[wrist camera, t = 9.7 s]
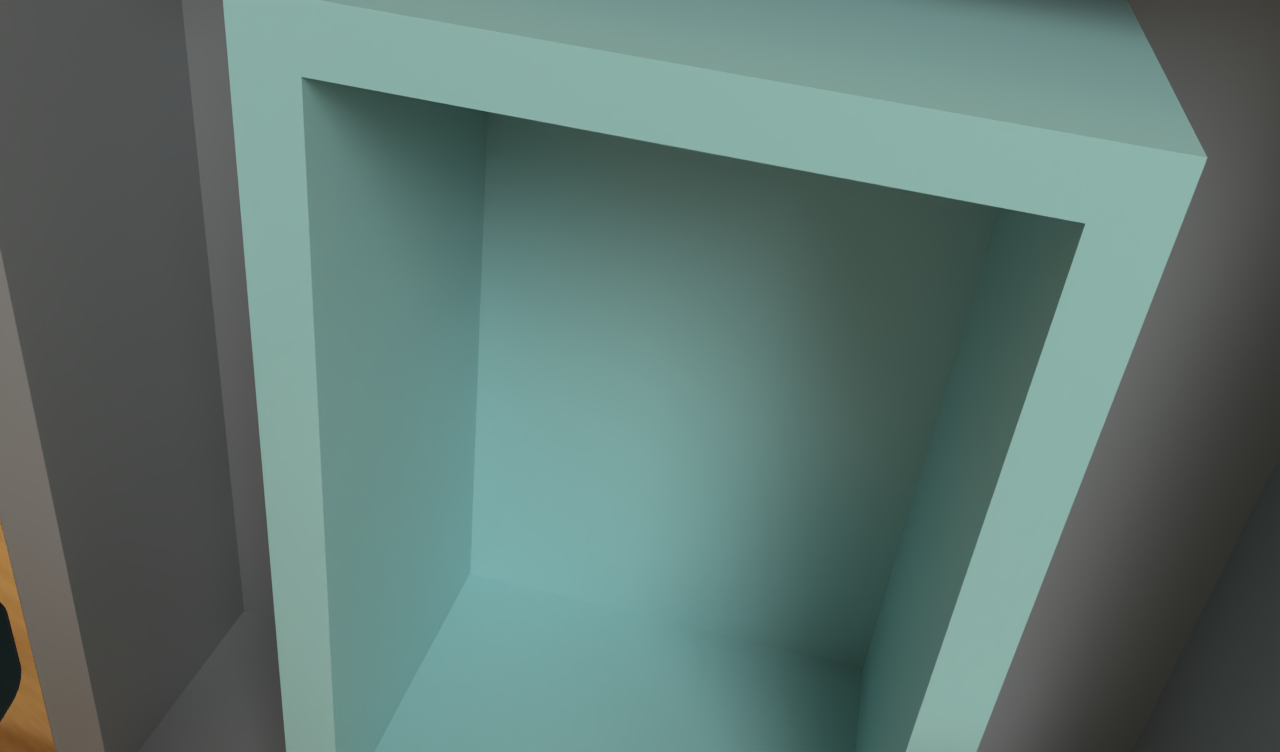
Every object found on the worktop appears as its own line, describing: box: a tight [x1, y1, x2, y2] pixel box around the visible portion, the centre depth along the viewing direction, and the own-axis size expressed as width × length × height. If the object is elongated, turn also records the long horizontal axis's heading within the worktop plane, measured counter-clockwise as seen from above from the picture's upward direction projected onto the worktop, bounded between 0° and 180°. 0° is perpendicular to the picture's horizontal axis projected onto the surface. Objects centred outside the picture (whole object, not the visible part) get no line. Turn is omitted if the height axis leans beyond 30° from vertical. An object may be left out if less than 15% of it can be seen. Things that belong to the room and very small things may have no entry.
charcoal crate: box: [0, 0, 1280, 752], centre depth 14 cm, size 16×16×4 cm
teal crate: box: [223, 0, 1207, 752], centre depth 13 cm, size 7×10×5 cm
